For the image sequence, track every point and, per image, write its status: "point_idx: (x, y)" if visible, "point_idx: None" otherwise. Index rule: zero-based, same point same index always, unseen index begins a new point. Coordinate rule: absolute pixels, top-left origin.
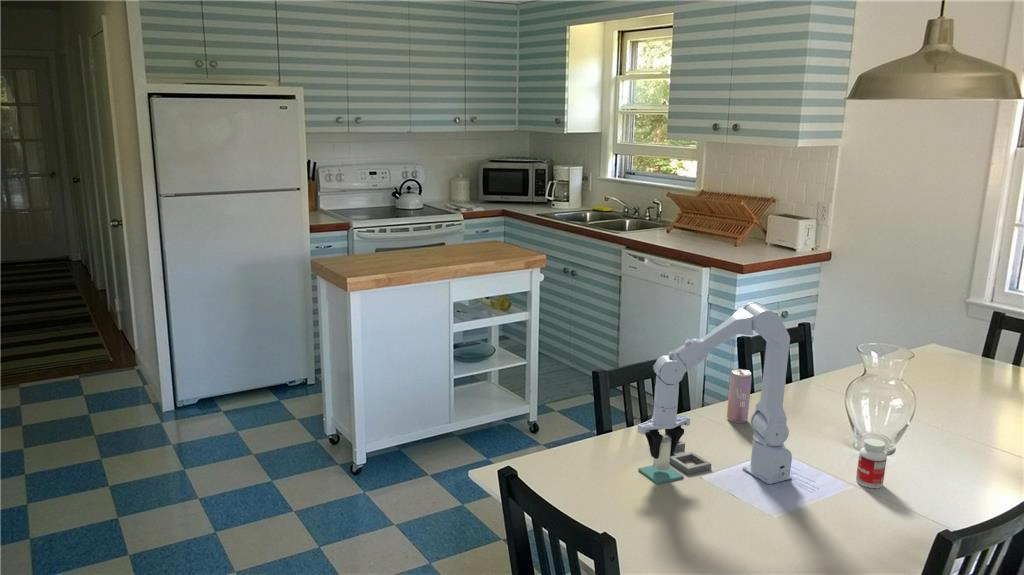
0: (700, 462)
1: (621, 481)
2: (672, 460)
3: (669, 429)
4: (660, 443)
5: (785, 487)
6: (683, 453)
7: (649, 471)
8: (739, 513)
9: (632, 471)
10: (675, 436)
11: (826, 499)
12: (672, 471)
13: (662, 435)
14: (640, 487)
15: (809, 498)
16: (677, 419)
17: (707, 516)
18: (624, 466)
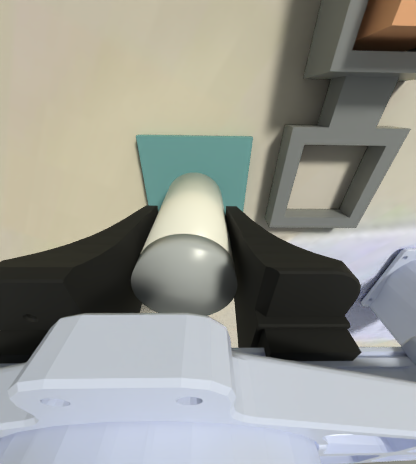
0: (353, 192)
1: (55, 178)
2: (286, 147)
3: (250, 314)
4: (141, 303)
5: (370, 313)
6: (368, 124)
7: (163, 174)
8: (229, 333)
9: (115, 130)
10: (237, 329)
11: (371, 343)
12: (231, 202)
13: (190, 277)
14: (103, 225)
15: (356, 337)
16: (351, 446)
17: None
18: (96, 70)
